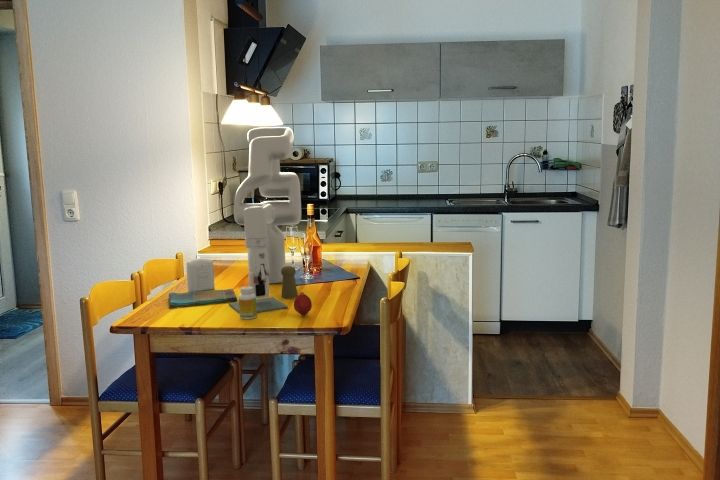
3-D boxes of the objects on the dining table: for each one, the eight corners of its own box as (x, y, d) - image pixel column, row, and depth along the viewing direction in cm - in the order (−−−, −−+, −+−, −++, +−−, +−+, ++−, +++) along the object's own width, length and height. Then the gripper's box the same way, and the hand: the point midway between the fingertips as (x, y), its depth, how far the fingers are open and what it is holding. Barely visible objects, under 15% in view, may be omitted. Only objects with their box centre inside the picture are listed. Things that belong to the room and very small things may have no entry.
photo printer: (212, 287, 261) (210, 255, 259) (216, 289, 258) (214, 257, 255) (186, 291, 256) (184, 259, 253) (190, 293, 252) (187, 261, 250)
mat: (273, 298, 240) (273, 296, 240) (287, 308, 227) (287, 306, 227) (229, 305, 233) (228, 303, 233) (241, 315, 220) (241, 313, 220)
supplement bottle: (256, 319, 215) (254, 289, 213) (239, 320, 215) (237, 290, 213) (257, 314, 220) (255, 285, 219) (240, 315, 220) (238, 286, 218)
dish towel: (168, 298, 248) (167, 291, 247) (233, 292, 254) (232, 285, 254) (168, 310, 232) (168, 303, 231) (238, 303, 238) (237, 296, 238)
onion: (294, 313, 220) (293, 289, 219) (312, 312, 220) (311, 288, 219) (294, 318, 214) (292, 294, 213) (312, 317, 215) (311, 293, 213)
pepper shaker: (300, 295, 244) (299, 265, 242) (293, 299, 239) (292, 268, 237) (285, 294, 246) (284, 264, 244) (278, 298, 241) (276, 267, 239)
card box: (267, 295, 237) (266, 270, 235) (269, 296, 235) (268, 271, 233) (249, 297, 234) (248, 272, 232) (251, 299, 232) (250, 273, 230)
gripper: (274, 244, 226) (277, 298, 229) (259, 238, 240) (262, 289, 243) (252, 246, 222) (256, 301, 225) (239, 240, 236) (242, 291, 239)
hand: (259, 294), depth 234 cm, fingers closed on card box, 2 cm apart
